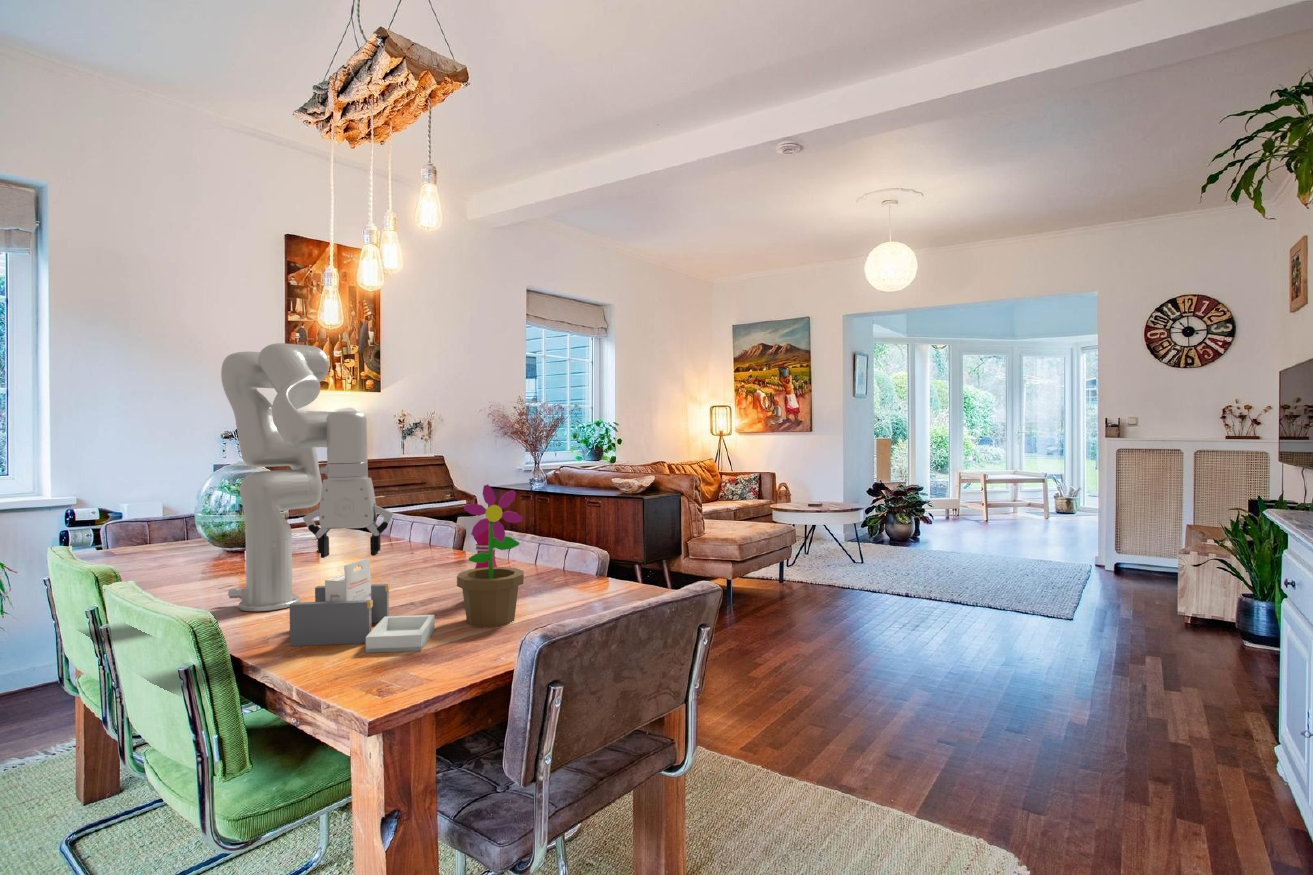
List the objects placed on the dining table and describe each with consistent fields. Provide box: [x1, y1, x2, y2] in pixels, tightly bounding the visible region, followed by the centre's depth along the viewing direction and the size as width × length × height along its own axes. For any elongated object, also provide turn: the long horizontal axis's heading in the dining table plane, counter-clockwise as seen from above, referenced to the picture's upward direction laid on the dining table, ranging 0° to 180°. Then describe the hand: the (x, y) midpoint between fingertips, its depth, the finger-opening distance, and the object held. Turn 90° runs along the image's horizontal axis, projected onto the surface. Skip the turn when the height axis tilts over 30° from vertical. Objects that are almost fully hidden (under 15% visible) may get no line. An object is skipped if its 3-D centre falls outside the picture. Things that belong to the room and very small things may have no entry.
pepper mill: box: [473, 516, 498, 569], centre depth 171 cm, size 7×7×20 cm
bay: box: [289, 583, 391, 647], centre depth 144 cm, size 15×16×8 cm
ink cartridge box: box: [324, 557, 373, 627], centre depth 144 cm, size 9×5×15 cm, turn 168°
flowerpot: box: [456, 484, 525, 628], centre depth 152 cm, size 14×14×30 cm
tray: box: [365, 614, 436, 654], centre depth 139 cm, size 10×14×3 cm
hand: (349, 555), depth 143 cm, fingers open, 9 cm apart
